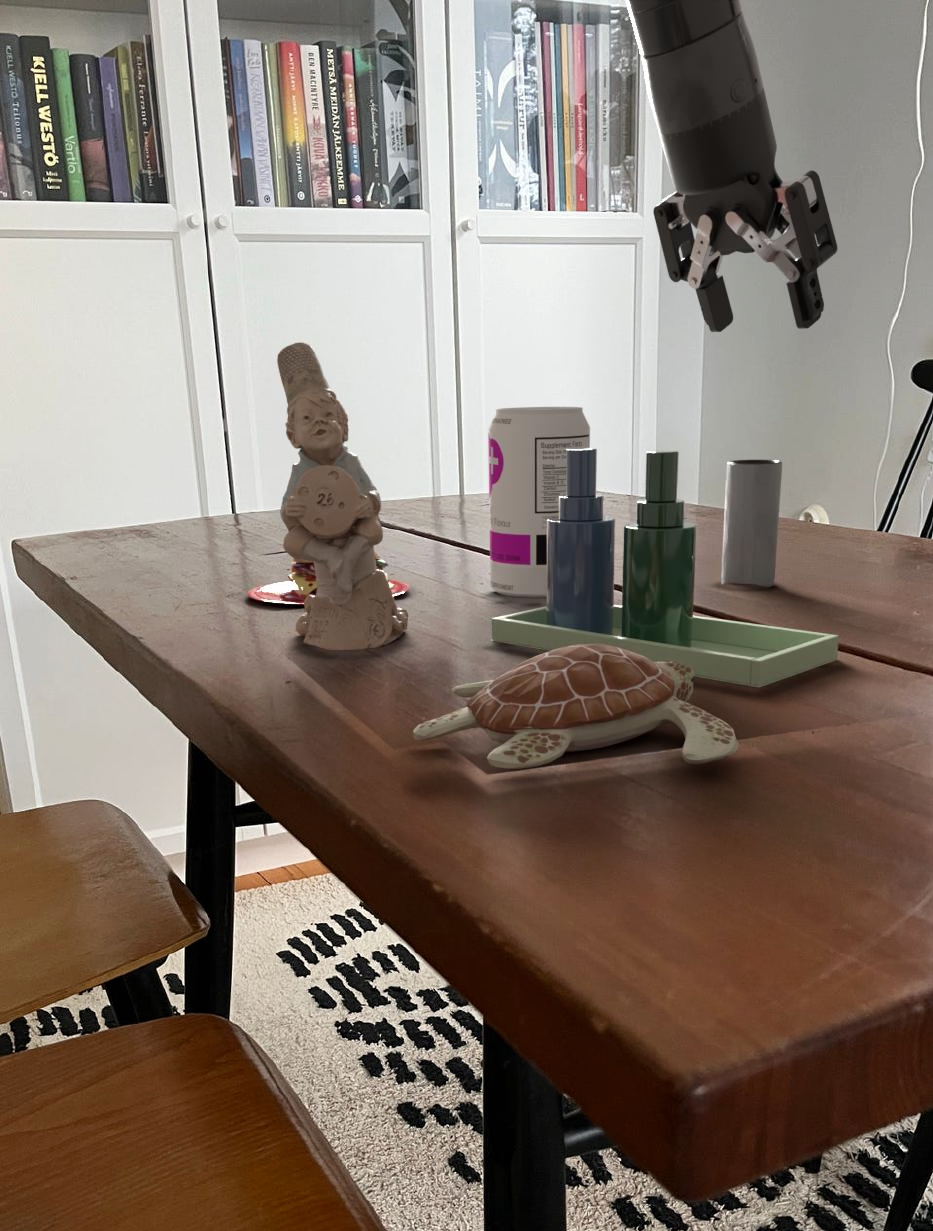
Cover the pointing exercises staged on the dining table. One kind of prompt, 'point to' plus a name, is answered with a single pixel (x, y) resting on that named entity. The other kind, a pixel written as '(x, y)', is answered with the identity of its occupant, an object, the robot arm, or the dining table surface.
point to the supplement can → (527, 490)
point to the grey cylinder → (751, 522)
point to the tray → (714, 651)
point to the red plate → (307, 584)
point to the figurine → (333, 517)
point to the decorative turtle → (583, 707)
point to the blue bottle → (581, 552)
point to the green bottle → (659, 560)
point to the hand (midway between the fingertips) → (764, 325)
